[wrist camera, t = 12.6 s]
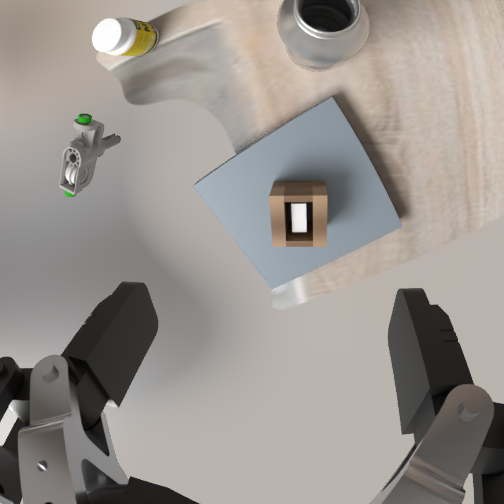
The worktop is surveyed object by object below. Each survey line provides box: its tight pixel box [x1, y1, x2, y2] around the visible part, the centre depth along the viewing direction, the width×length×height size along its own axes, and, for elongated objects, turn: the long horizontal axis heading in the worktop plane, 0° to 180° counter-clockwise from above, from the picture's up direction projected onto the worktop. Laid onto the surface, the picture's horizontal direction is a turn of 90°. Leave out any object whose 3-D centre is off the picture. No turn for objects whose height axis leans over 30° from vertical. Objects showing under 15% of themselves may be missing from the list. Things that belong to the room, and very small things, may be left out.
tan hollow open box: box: [269, 181, 327, 247], centre depth 35 cm, size 6×6×5 cm
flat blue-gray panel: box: [193, 97, 402, 289], centre depth 36 cm, size 20×18×6 cm
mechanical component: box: [59, 114, 121, 197], centre depth 34 cm, size 3×10×10 cm, turn 155°
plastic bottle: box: [277, 0, 370, 72], centre depth 20 cm, size 6×7×20 cm
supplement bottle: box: [92, 18, 159, 56], centre depth 27 cm, size 5×5×8 cm
